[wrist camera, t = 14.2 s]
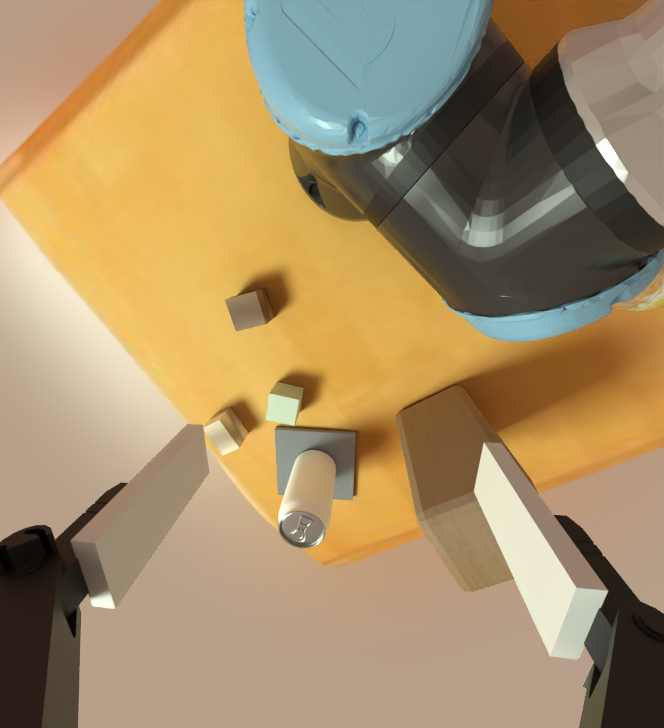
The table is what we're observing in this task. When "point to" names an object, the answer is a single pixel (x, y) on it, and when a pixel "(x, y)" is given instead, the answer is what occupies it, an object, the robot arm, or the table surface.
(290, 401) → the sage painted cube
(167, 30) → the table surface
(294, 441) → the slate coaster
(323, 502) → the can
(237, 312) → the walnut block
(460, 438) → the wooden block
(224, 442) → the pale birch block
